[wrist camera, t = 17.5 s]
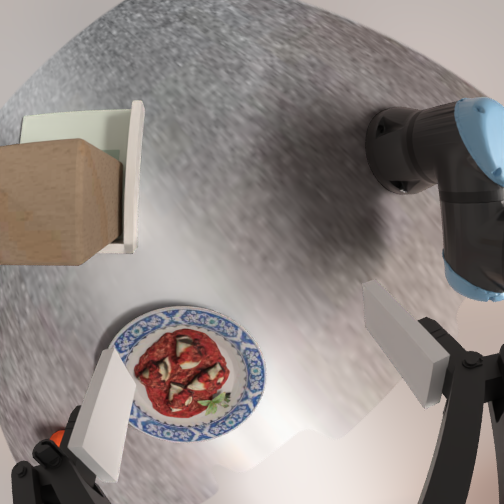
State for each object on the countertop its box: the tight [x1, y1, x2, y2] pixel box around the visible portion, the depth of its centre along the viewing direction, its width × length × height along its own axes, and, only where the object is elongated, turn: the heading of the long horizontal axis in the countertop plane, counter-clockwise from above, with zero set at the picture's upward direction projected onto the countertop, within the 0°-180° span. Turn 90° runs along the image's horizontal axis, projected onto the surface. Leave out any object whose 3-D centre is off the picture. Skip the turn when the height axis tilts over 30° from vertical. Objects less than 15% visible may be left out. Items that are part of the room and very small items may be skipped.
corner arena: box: [20, 100, 145, 254], centre depth 37 cm, size 19×19×5 cm
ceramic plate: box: [108, 306, 266, 443], centre depth 47 cm, size 26×26×3 cm
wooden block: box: [0, 138, 123, 266], centre depth 30 cm, size 10×10×20 cm
